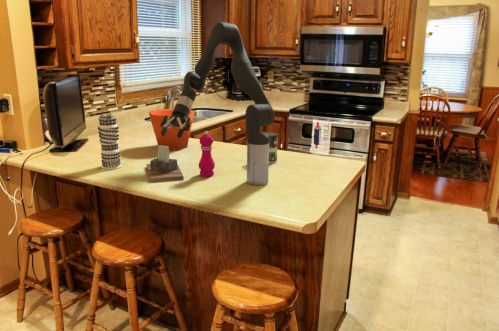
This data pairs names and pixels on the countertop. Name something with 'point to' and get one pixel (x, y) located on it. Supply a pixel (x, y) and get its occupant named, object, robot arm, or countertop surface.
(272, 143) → the coffee can
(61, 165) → the countertop surface
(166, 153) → the slat
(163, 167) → the brown piece
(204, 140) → the pepper mill
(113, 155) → the decorative candle
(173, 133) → the flowerpot
